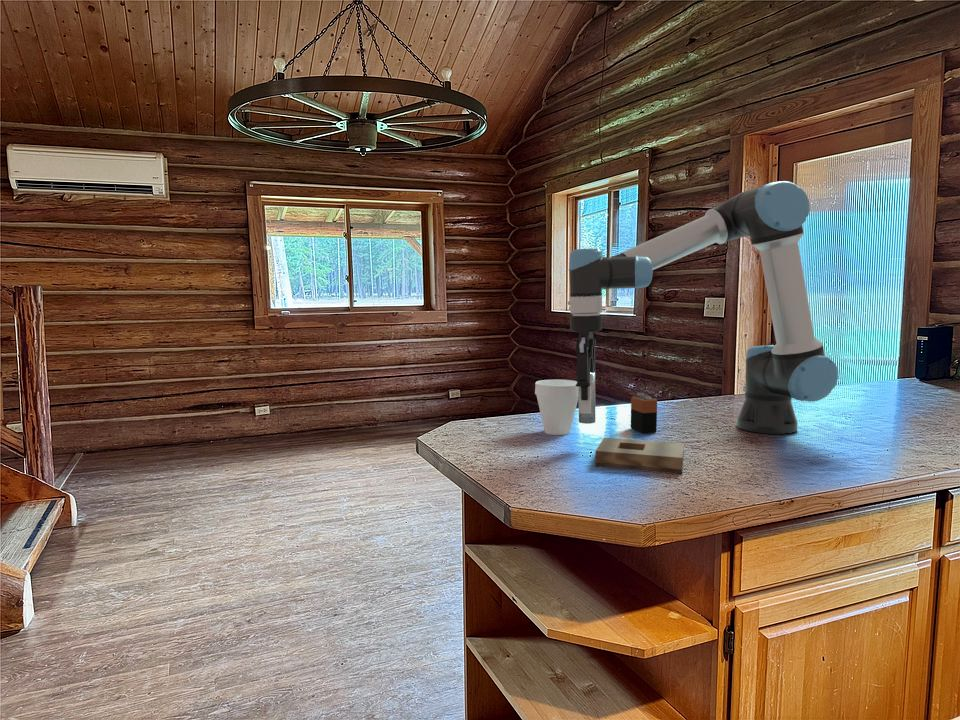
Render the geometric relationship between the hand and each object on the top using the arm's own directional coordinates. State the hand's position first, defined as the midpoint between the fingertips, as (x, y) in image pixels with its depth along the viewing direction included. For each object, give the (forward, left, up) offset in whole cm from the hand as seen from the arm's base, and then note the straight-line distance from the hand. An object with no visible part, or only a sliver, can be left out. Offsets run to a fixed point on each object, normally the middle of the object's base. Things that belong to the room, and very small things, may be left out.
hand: (587, 411), depth 148 cm
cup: (+11, -15, -9) cm, 20 cm away
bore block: (-13, +9, -9) cm, 19 cm away
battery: (-11, -24, -9) cm, 28 cm away
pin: (0, 0, -3) cm, 3 cm away
